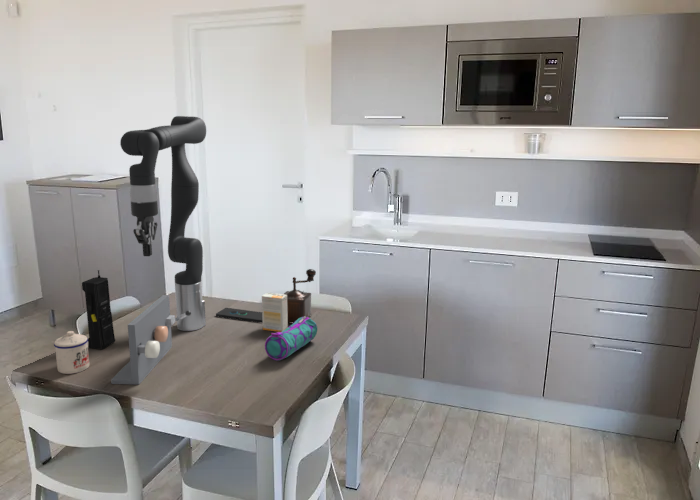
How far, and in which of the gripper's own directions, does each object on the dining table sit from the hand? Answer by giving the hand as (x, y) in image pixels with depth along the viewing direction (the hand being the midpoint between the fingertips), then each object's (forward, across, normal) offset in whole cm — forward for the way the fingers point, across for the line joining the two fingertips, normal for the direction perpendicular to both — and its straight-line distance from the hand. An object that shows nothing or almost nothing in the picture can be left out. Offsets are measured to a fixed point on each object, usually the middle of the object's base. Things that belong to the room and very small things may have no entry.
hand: (147, 255), depth 166 cm
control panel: (+33, +6, 0) cm, 34 cm away
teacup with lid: (+33, +9, -20) cm, 40 cm away
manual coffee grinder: (+33, -40, +41) cm, 66 cm away
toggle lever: (+22, -6, +8) cm, 24 cm away
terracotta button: (+25, +6, +3) cm, 26 cm away
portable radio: (+33, -7, -20) cm, 40 cm away
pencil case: (+33, -8, +43) cm, 55 cm away
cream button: (+25, +18, +5) cm, 31 cm away
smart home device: (+34, -38, +20) cm, 55 cm away
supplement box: (+33, -26, +35) cm, 54 cm away
